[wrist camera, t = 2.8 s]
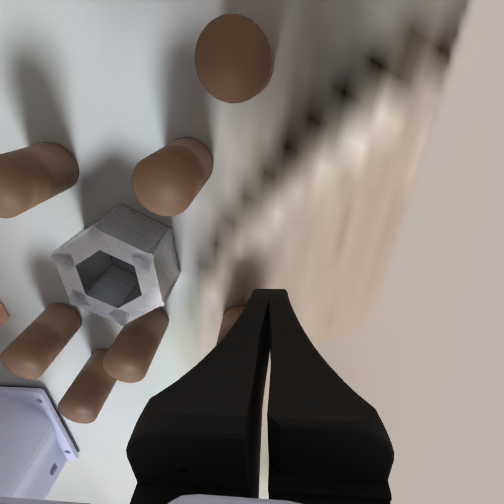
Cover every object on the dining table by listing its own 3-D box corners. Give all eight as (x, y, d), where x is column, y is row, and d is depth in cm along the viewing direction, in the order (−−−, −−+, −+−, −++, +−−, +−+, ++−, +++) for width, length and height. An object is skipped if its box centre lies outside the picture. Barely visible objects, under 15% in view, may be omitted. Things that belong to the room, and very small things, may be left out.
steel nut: (184, 293, 20) (169, 326, 17) (104, 292, 20) (77, 325, 17) (168, 202, 17) (147, 225, 14) (75, 204, 17) (39, 227, 15)
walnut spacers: (276, 377, 23) (276, 432, 19) (34, 369, 24) (-8, 418, 21) (272, 29, 13) (270, 11, 9) (-132, 55, 14) (-263, 48, 11)
